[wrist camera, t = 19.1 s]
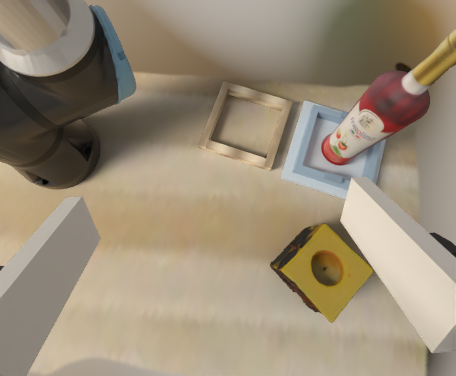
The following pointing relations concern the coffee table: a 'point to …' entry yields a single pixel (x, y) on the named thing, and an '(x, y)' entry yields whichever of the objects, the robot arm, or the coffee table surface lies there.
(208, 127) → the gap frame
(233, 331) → the coffee table surface
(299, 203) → the coffee table surface
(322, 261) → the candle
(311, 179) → the tray
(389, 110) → the liquor
